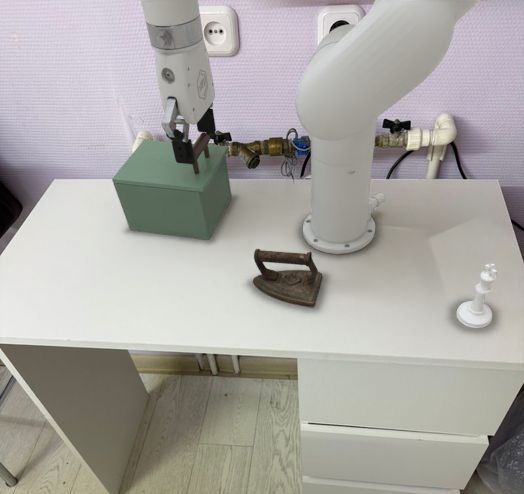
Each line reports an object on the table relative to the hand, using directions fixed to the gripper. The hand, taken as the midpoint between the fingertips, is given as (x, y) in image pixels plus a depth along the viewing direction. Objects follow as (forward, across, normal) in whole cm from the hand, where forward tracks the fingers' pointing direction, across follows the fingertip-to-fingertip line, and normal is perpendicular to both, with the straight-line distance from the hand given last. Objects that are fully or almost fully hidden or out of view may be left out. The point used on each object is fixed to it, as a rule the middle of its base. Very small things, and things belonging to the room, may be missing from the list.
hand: (196, 146), depth 82 cm
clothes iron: (+14, -15, -19) cm, 28 cm away
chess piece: (+14, -16, -48) cm, 52 cm away
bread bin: (+14, 0, +6) cm, 15 cm away
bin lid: (+4, 0, +5) cm, 7 cm away
